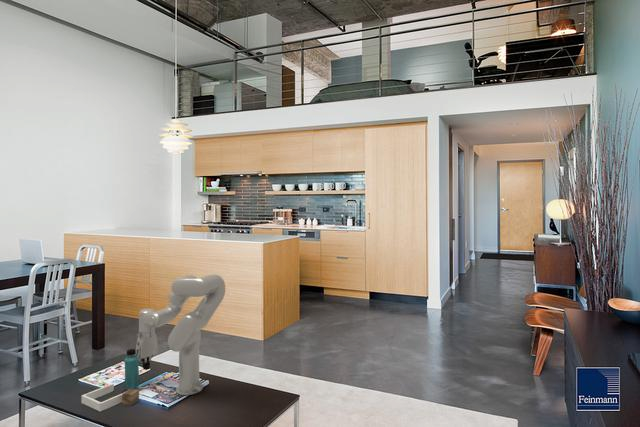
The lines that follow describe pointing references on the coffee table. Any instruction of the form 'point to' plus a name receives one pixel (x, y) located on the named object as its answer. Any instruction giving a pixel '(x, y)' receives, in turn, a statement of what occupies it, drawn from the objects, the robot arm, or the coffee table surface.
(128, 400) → the walnut block
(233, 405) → the coffee table surface
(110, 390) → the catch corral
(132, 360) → the beverage bottle
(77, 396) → the coffee table surface
